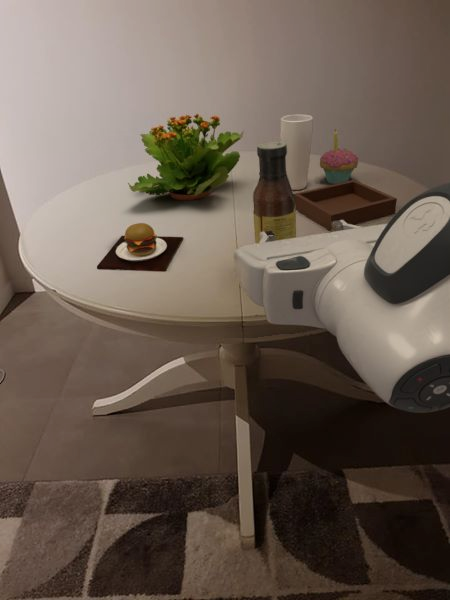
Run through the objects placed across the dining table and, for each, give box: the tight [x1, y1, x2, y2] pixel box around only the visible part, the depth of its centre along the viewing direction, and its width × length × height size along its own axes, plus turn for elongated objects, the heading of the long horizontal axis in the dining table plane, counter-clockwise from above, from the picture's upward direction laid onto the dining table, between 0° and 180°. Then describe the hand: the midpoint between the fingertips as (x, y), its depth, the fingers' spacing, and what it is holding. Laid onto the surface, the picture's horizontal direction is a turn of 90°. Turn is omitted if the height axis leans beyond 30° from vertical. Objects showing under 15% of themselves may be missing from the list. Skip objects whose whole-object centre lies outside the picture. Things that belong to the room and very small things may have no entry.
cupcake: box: [319, 128, 359, 185], centre depth 105 cm, size 9×8×12 cm
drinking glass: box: [279, 113, 314, 191], centre depth 102 cm, size 7×7×15 cm
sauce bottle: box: [252, 140, 297, 244], centre depth 69 cm, size 7×6×20 cm
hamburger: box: [96, 222, 184, 272], centre depth 81 cm, size 12×12×6 cm
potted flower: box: [127, 113, 245, 201], centre depth 103 cm, size 25×24×18 cm
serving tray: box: [293, 179, 398, 232], centre depth 92 cm, size 15×13×3 cm
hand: (301, 231), depth 59 cm, fingers open, 8 cm apart
